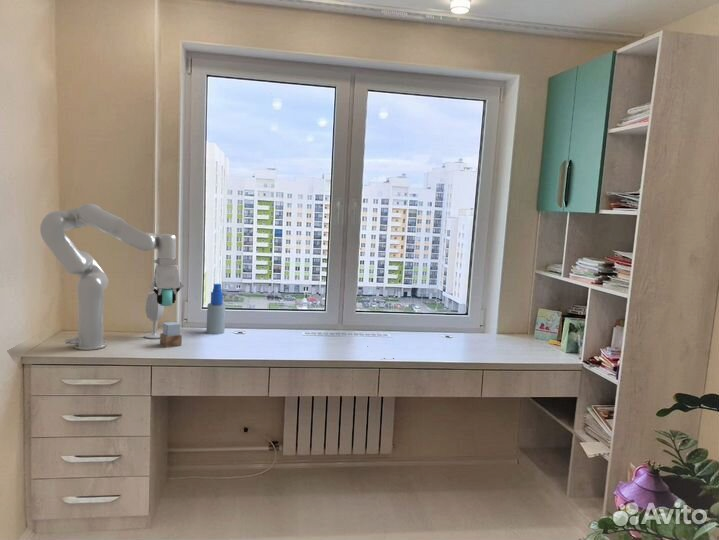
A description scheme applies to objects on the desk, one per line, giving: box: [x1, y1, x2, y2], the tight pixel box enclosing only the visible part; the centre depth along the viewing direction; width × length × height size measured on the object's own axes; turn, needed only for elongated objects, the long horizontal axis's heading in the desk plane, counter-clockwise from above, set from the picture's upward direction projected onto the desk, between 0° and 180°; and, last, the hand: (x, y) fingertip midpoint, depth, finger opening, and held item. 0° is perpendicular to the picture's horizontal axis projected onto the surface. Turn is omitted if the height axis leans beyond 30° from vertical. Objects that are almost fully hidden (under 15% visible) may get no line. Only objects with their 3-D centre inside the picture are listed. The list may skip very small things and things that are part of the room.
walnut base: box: [159, 332, 183, 348], centre depth 229 cm, size 7×7×5 cm
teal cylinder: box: [160, 288, 173, 307], centre depth 223 cm, size 5×5×7 cm
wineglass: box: [143, 292, 165, 340], centre depth 240 cm, size 9×9×21 cm
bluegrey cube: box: [162, 321, 181, 336], centre depth 229 cm, size 6×6×5 cm
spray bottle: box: [205, 283, 226, 335], centre depth 258 cm, size 9×9×25 cm
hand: (166, 302), depth 223 cm, fingers closed on teal cylinder, 5 cm apart
